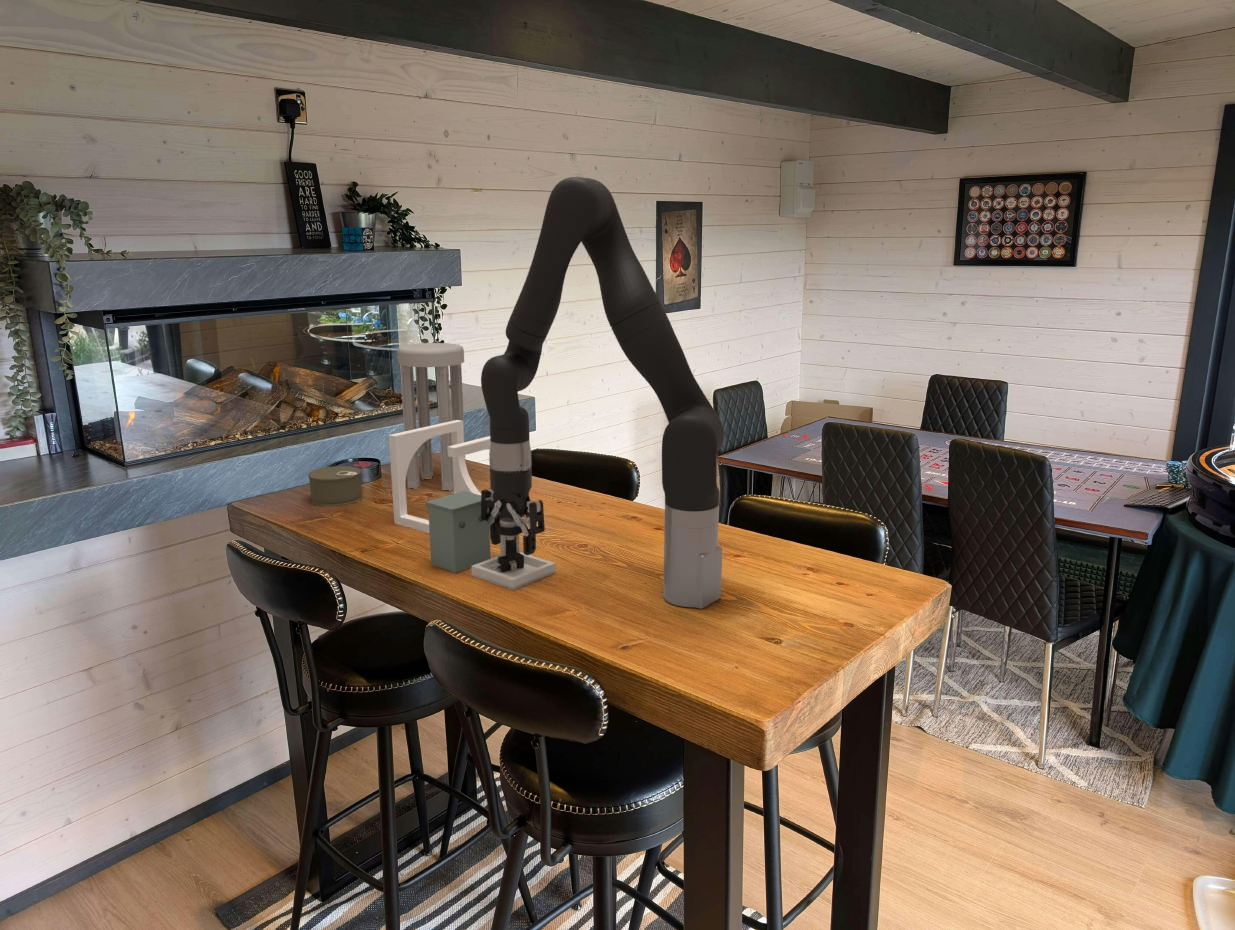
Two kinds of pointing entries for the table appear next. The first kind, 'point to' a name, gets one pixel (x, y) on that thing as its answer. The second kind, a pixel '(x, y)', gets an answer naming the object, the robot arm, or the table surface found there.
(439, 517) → the box
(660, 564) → the table surface
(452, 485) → the stool
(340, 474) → the can
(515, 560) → the push button
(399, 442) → the bookend
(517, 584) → the tray
